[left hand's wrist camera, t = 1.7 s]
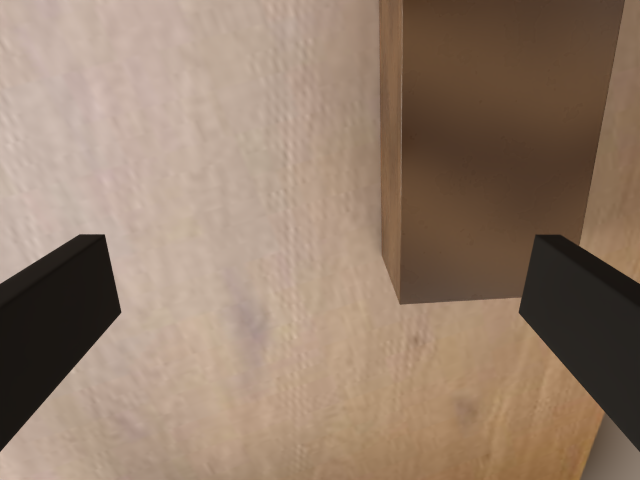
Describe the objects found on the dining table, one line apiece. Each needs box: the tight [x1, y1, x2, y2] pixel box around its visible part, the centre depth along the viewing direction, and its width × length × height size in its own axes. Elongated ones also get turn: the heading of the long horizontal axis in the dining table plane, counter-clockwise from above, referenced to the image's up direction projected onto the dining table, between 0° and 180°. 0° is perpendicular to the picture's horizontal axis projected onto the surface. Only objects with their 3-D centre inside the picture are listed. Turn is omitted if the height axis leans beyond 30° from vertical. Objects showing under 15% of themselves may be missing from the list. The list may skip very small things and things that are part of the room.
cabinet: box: [379, 0, 625, 304], centre depth 27 cm, size 20×11×8 cm, turn 4°
